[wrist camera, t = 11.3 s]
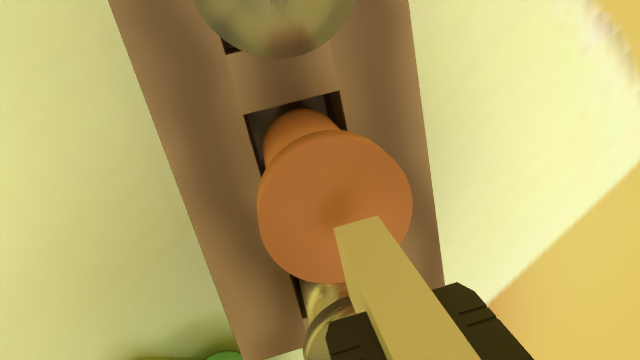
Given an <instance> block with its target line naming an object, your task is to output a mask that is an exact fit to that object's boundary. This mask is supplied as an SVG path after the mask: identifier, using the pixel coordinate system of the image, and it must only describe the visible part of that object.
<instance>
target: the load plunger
mask: <svg viewBox="0 0 640 360" xmlns="http://www.w3.org/2000/svg"><path fill="white" fill-rule="evenodd" d="M262 148H263V156H264V161H265V167H266V170H265V172H264V173H263V175H262V178H261V181H260V184H259V188H258V192H257V213H258V224H259V231H260V235H261V239H262V241H263V244H264V246H265V248H266V250H267V251H268V253H269V255H270V256H271V257H272V259H273V260H274V261H275V262H276V263H277V264H278V265H279V266H280V267H281V268H283V269H284V270H285V271H287V272H288V273H290V274H292V275H294V276H295V277H297V278H300V279H303V280H306V281H310V282H314V283H322V284H335V283H343V282H346V280H345V276H344V272H343V267H342V263H341V259H340V255H339V250H338V246H337V242H336V237H335V233H334V229H333V228H335V227H339V226H342V225H346V224H349V223H353V222H356V221H360V220H363V219H367V218H370V217H374V216H377V215H378V217H379V218H380V219H381V221H382V222H383V224H384V225H385V226H386V228H387V229H388V231H389V232H390V233H391V235H392V236H393V238H394V239H395V240H396V242H397V243H398V245H399V246H400V244H401V243H402V241H403V240H404V237H405V235H406V233H407V231H408V228H409V225H410V222H411V217H412V207H413V202H412V193H411V188H410V185H409V182H408V180H407V177H406V175H405V174H404V172H403V170H402V169H401V167H400V166H399V165H398V163H397V162H396V161H395V160H394V159H393V158H392V157H391V156H390V155H389V154H387V153H386V152H385V151H384V150H383V149H382V148H380V147H379V146H378V145H377V144H375V143H374V142H373V141H371V140H370V139H368V138H366V137H364V136H362V135H359V134H357V133H354V132H349V131H344V130H340V129H339V128H338V127H337V126H336V125H335V124H334V123H333V122H332V121H331V120H330V119H329V118H328V117H327V116H326V115H325V114H323V113H321V112H319V111H317V110H314V109H310V108H295V109H291V110H288V111H286V112H284V113H282V114H280V115H279V116H278V117H276V118H275V119H274V120H273V121H272V122H271V124H270V125H269V127H268V128H267V130H266V132H265V135H264V138H263V146H262Z"/></svg>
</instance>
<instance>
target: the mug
mask: <svg viewBox="0 0 640 360" xmlns="http://www.w3.org/2000/svg"><path fill="white" fill-rule="evenodd" d="M206 360H243V358H242V355H241V354H240V353H237V352H233V351H222V352H219V353H215V354H213V355H212V356H210V357H208V358H207V359H206Z"/></svg>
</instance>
